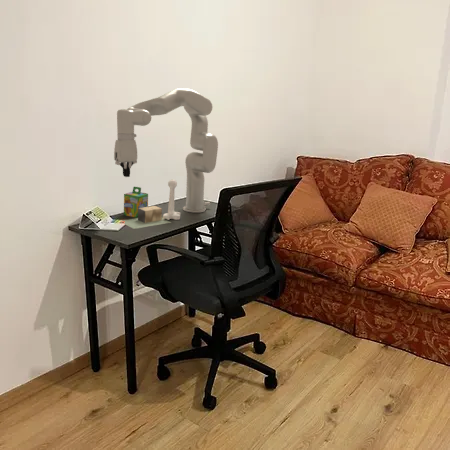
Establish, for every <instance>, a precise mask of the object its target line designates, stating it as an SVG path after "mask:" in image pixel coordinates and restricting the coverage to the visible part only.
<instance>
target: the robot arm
mask: <svg viewBox="0 0 450 450" xmlns="http://www.w3.org/2000/svg"><path fill="white" fill-rule="evenodd" d="M181 107H183V108H184V110H185V112H186V113H187V114H188V116H189V117H190V120H191V130H190V141H189V145H190V147H191V148H192V149H193V150H197V151H202V152H196V151H193V152H190V153H188V154H187V155H186V157H185V169H186V190H185V193H186V194H185V195H186V197H185V205H184V206H183V207H182V210H183V211H184V212H187V213H193V214H196V213H197V214H198V213H204V212H206V211H205V210H207V208H206V206H210V205H211V202H210V201H204V200H205V197H204V195H205V174H211V173H213V172H214V170H215V168H216V166H217V165H216V164H217V160H218V159H217V157H218V150H219V142H218V138H217V136H216V135H214V134H212V133H209V131H208V129H209V128H208V127H209V120H208V117H207V116H208V115H210V114H211V113H212V111H213V103H212V101H211V100H210V98H207V97H206V96H204V95H203V94H201V93H199V92H198V91H195V90H194V89H190V88H183V87H182V88H179V87H178V88H174V89H173V90H170V91H168V92H166V93H164V94H161V95H160V96H157V97H155V98H152V99H147V100H145V101H142V102H138V103H135V104H134V105H132V106H129V107H128V108H127V109H124V108H122V109H118V110H117V112H116V127H117V129H116V130H117V131H116V132H117V135H116V136H117V139H115V142H114V147H113V149H114V150H113V153H114V154H113V160H114V161H115V165H118V166H121V168H122V176H123V177H125V178H129V177H131V176H130V175H131V169H132V166H133V165H135V164H137V163H138V148H137V142H136V139H135V138H136V137H137V134H136V133H135V126H138V127H142V126H143V127H145V126H147V125H149V124H150V123H151V121H152V116H163V115H167V114H168V113H170V112H172V111H174V110H176V109H178V108H181ZM204 173H205V174H204Z"/></svg>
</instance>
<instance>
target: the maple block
mask: <svg viewBox="0 0 450 450" xmlns="http://www.w3.org/2000/svg"><path fill="white" fill-rule="evenodd" d="M162 213H163V208H162V207H159V206H157V205H153V206H148V207H143V208H138V220H139V221H141V222H143V223H147V222H153V221H159V220H162V218H163V214H162Z"/></svg>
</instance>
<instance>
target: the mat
mask: <svg viewBox="0 0 450 450" xmlns="http://www.w3.org/2000/svg"><path fill="white" fill-rule="evenodd" d="M122 221H125V223H124V225H126V226H127V227H129V228H131V229H133V230H135V229H141V228H142V229H143V228H147V227H153V226H159V225H164V224H172V222H171V221H169V220H167V219H165V220H163V217H162V220H159V221H153V222H147V223H143V222H141V221H139V220H138V218H136V217H133V218H129V219H123V220H122Z"/></svg>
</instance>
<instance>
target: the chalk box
mask: <svg viewBox="0 0 450 450" xmlns="http://www.w3.org/2000/svg"><path fill="white" fill-rule="evenodd" d="M136 190H138V191H136ZM141 191H142V187H141V186H139V187H138V186H133V187H132V191H130V192H127V193H123V216H126V217H131V218H138V208H143V207H149V193H146V192H141Z"/></svg>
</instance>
